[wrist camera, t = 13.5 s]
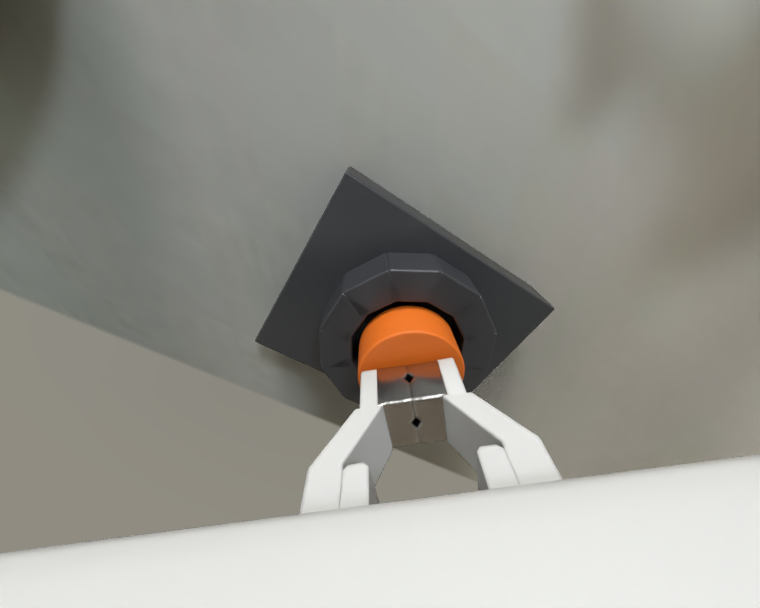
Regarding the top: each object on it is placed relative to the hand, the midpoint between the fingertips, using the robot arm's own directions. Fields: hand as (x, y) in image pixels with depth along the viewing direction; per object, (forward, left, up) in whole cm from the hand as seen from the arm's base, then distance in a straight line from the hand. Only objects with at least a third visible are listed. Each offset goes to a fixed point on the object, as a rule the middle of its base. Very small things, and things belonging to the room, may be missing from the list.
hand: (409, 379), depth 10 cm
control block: (0, 0, -6) cm, 6 cm away
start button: (0, 0, -2) cm, 2 cm away
